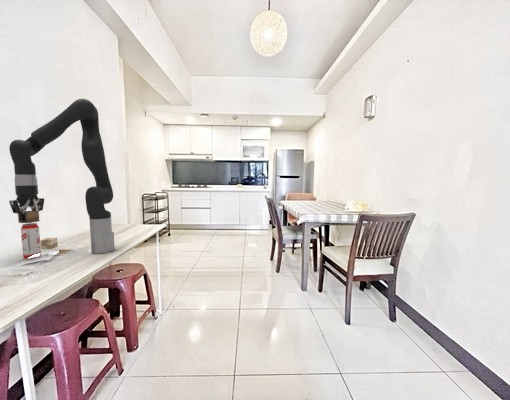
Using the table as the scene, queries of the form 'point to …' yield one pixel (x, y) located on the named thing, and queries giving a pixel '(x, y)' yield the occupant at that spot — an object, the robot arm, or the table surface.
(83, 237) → the table surface
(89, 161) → the robot arm
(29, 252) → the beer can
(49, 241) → the maple cube
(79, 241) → the table surface
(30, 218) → the walnut cube
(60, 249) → the tile
